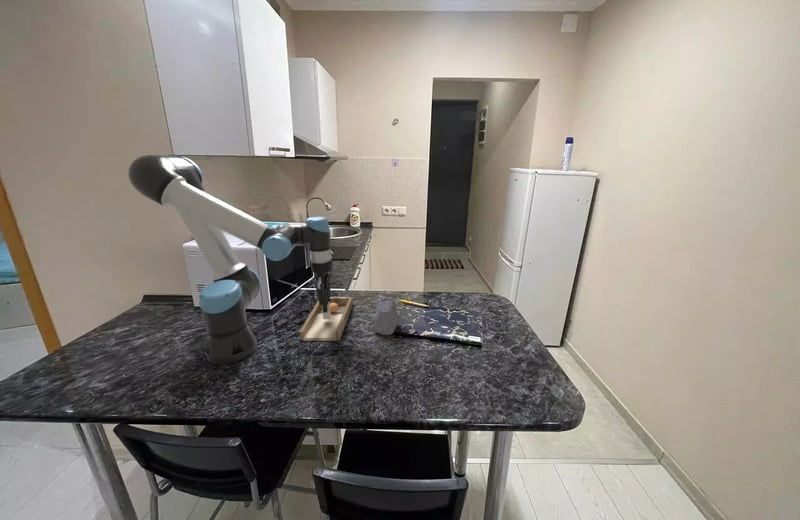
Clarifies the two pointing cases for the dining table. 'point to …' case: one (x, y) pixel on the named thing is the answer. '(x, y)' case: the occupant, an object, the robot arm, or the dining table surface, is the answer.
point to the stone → (386, 317)
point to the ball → (333, 307)
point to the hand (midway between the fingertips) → (326, 318)
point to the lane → (327, 322)
